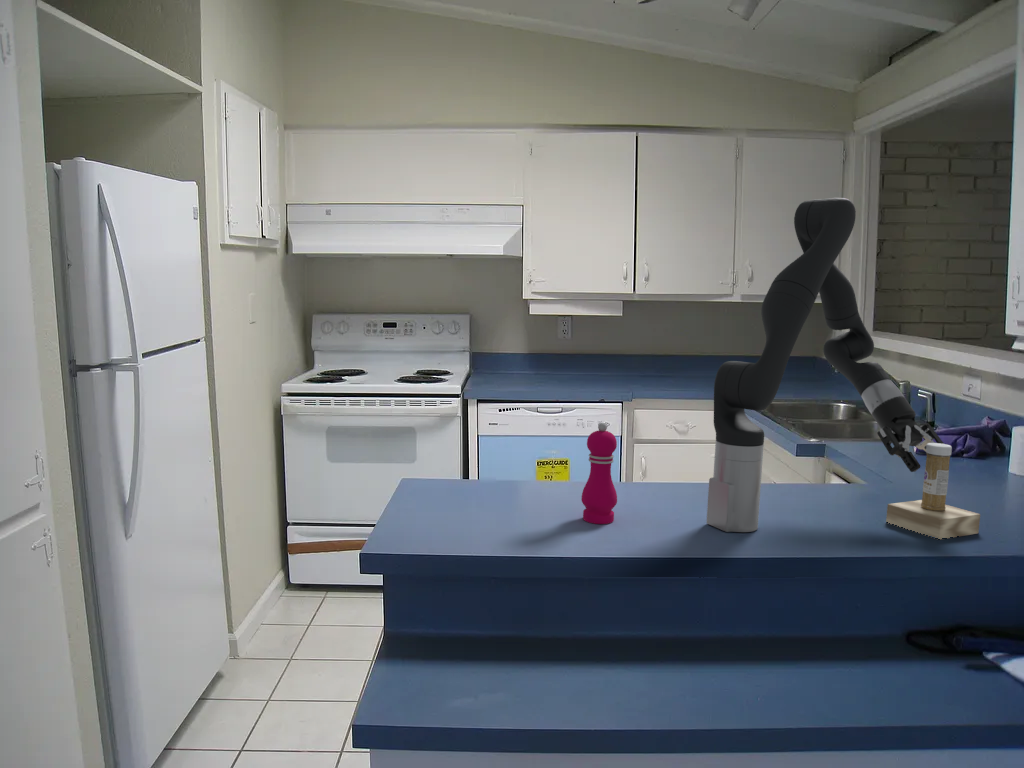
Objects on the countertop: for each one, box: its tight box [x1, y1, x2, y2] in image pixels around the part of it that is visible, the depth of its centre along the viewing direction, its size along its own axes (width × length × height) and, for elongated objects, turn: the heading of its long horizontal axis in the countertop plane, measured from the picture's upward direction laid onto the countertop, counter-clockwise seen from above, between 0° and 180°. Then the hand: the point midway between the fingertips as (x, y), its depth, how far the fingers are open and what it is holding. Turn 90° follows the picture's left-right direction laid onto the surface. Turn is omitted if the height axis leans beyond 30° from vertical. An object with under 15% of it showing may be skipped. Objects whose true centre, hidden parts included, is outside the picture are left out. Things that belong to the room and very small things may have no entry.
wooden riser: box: [885, 499, 981, 540], centre depth 158 cm, size 12×12×4 cm
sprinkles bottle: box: [921, 442, 953, 511], centre depth 157 cm, size 5×5×14 cm
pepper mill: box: [580, 422, 618, 525], centre depth 155 cm, size 7×7×20 cm
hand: (930, 468), depth 158 cm, fingers open, 8 cm apart
